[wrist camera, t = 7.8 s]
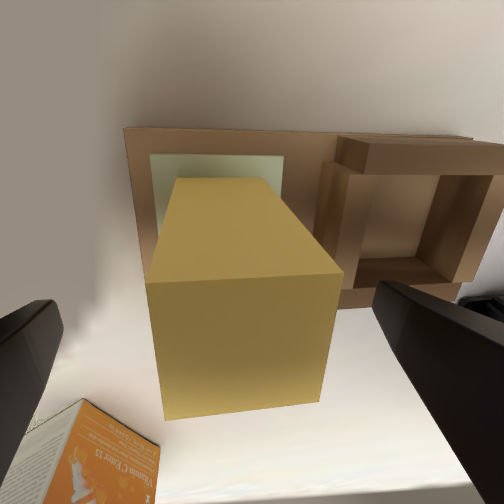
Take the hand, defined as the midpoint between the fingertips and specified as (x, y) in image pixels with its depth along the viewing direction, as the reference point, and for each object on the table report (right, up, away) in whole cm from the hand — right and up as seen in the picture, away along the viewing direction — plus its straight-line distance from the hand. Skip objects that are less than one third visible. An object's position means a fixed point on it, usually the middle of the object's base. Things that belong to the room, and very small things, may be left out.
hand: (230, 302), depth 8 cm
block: (-1, +3, +6) cm, 7 cm away
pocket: (+8, +4, +9) cm, 12 cm away
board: (+3, +4, +8) cm, 10 cm away
